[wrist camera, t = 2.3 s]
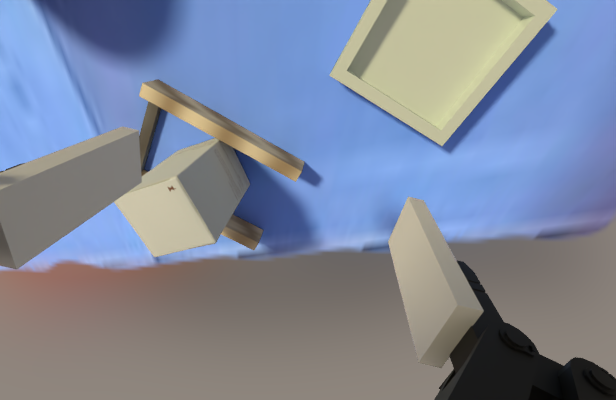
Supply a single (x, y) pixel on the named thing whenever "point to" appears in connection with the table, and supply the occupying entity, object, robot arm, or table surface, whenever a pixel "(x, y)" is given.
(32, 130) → the table surface
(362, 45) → the tray
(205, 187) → the supplement box
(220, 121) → the open u-shaped frame
